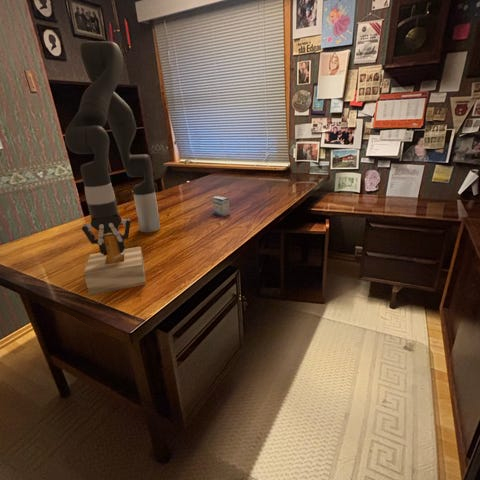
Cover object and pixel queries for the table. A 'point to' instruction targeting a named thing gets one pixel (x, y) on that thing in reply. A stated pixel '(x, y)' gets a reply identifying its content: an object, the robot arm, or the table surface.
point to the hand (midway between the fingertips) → (113, 252)
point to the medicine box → (220, 205)
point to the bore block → (115, 272)
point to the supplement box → (112, 248)
